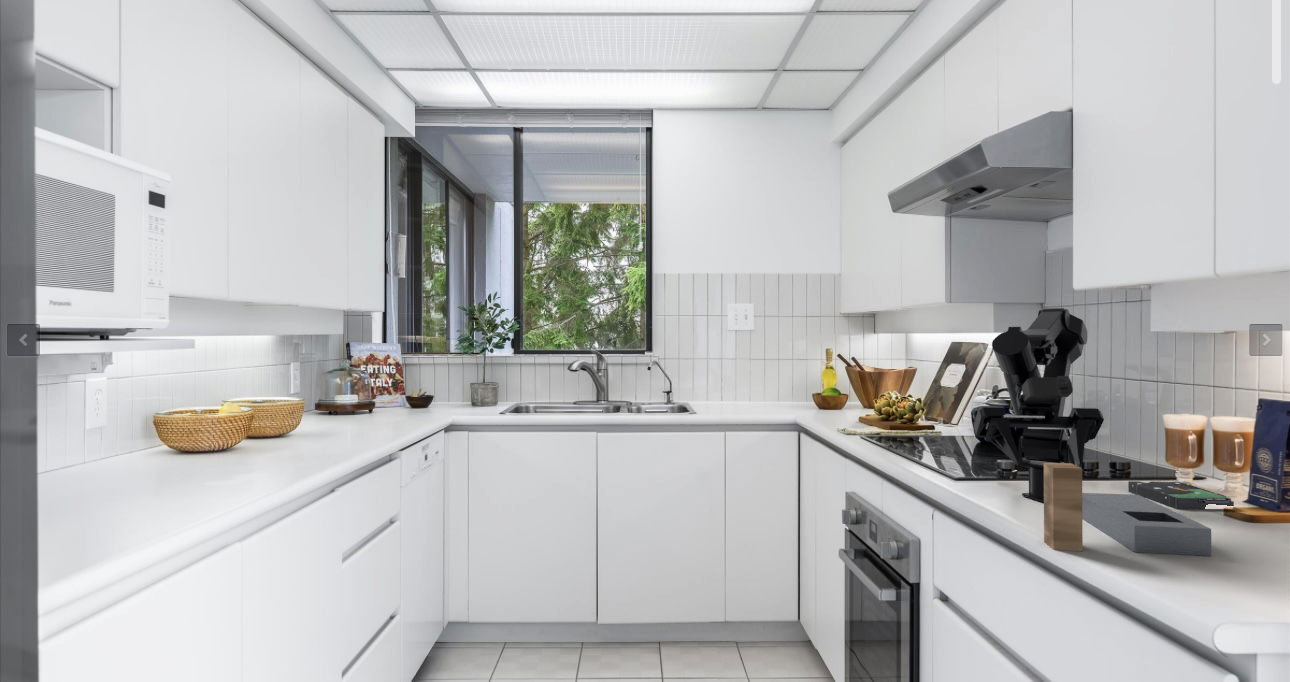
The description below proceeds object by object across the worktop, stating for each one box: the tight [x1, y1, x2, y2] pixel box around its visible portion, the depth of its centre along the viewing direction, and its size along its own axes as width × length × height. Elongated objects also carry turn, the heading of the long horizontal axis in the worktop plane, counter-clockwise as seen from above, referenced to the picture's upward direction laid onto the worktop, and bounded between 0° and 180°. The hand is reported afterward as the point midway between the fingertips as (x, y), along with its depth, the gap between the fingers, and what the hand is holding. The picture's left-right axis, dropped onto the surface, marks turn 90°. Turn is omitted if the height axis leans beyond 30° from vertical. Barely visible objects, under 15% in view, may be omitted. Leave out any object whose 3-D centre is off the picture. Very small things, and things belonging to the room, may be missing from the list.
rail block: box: [1082, 492, 1212, 557], centre depth 113 cm, size 22×10×4 cm, turn 168°
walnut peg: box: [1043, 462, 1084, 552], centre depth 107 cm, size 4×4×12 cm
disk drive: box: [1127, 480, 1235, 511], centre depth 135 cm, size 10×3×15 cm
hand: (1049, 464), depth 112 cm, fingers open, 9 cm apart
